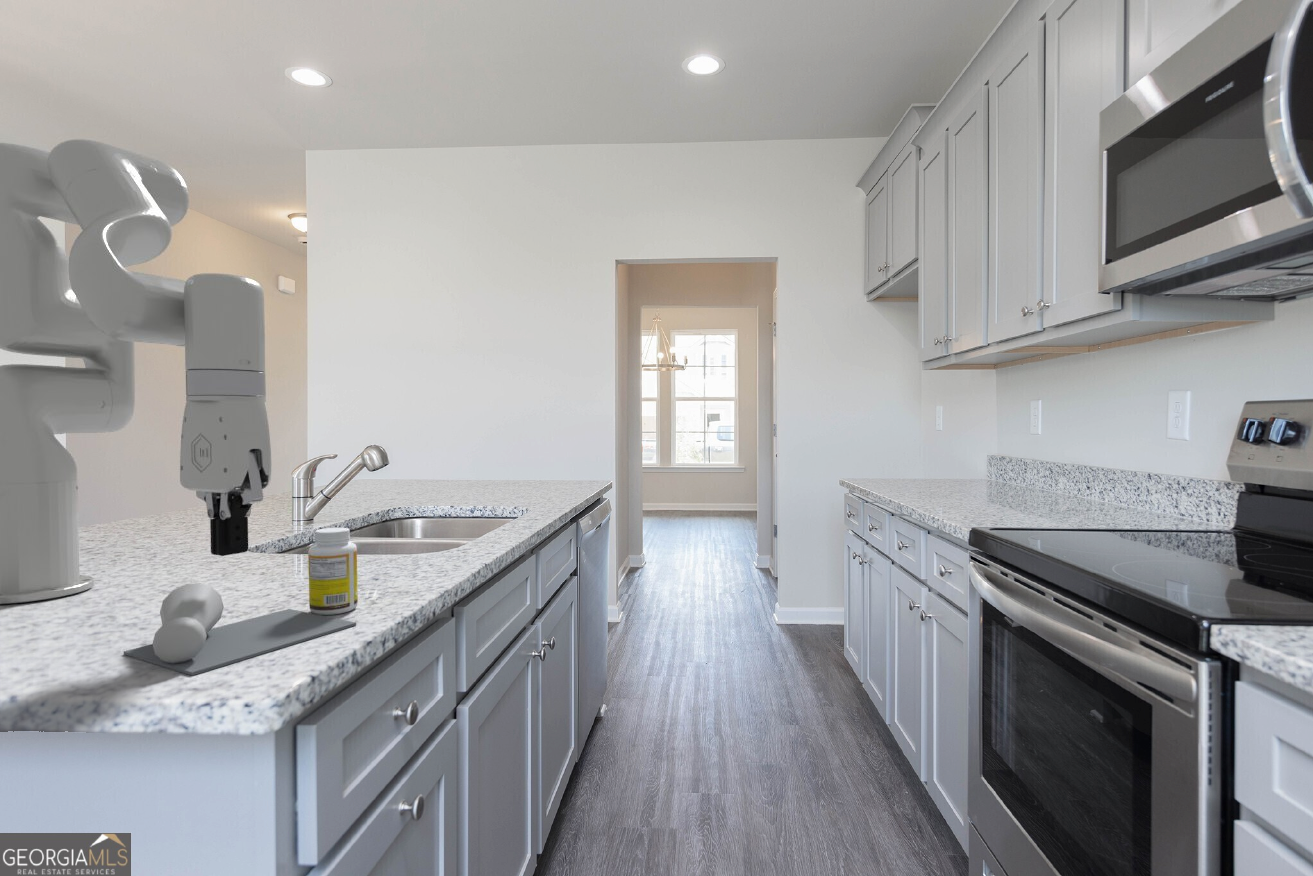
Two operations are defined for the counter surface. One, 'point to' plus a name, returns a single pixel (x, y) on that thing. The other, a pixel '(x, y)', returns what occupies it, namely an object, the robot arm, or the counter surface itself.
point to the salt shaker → (186, 622)
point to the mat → (249, 639)
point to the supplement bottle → (332, 572)
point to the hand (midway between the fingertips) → (229, 552)
